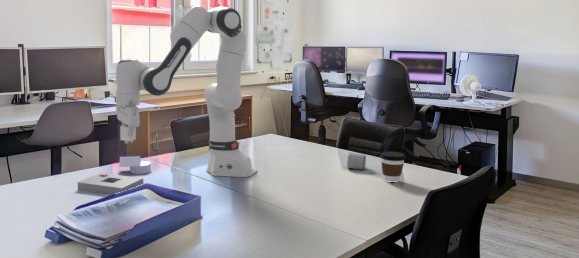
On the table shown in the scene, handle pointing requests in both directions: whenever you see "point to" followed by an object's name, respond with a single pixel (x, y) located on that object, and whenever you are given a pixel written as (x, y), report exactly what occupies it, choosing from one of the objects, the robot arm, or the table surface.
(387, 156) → the coffee cup
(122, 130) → the plug
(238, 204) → the table surface
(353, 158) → the grey rounded block
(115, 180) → the socket plate
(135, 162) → the wedge on round base
